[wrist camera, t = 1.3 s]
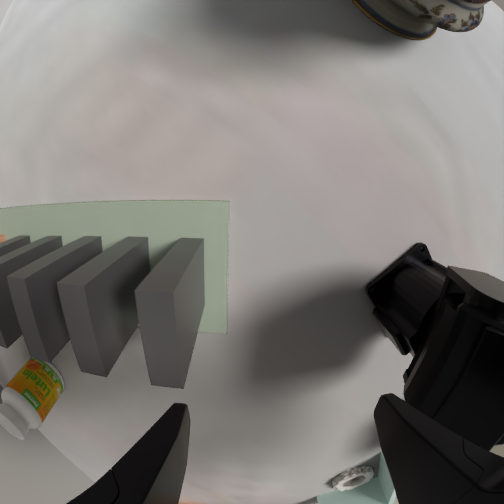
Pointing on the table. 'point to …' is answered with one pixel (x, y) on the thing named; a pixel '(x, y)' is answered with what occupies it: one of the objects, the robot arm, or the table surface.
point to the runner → (140, 235)
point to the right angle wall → (361, 487)
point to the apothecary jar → (423, 15)
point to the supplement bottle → (30, 397)
